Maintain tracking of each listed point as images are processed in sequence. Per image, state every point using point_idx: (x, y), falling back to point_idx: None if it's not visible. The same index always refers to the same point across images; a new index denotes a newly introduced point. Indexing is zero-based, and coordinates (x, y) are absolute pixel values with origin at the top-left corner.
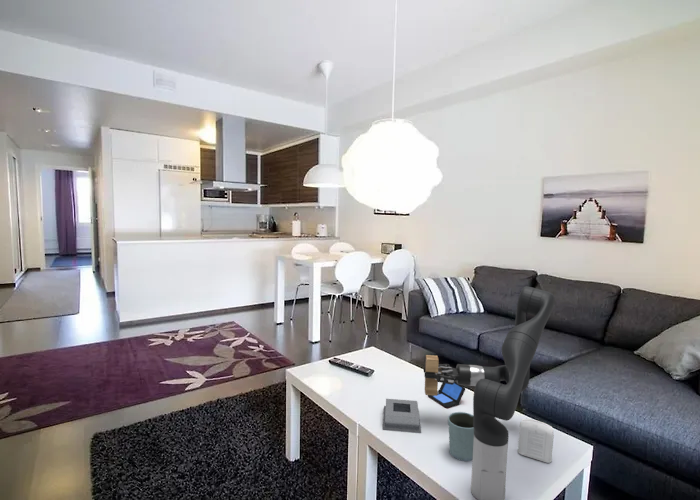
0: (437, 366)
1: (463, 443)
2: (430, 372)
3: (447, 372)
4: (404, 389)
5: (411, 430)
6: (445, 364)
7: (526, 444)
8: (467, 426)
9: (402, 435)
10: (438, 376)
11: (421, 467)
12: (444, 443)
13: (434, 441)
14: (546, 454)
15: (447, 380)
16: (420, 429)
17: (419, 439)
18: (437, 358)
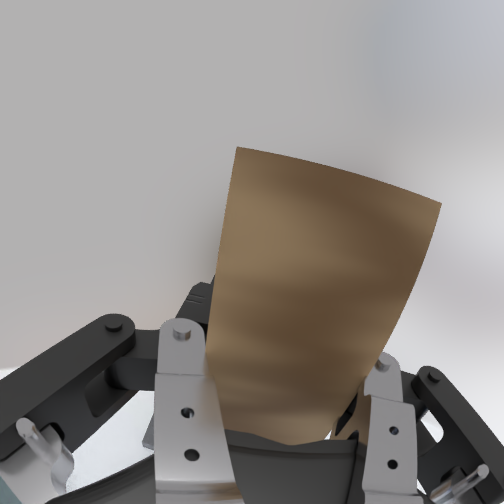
0: (218, 266)
1: None
2: (211, 296)
3: (153, 462)
4: (430, 429)
5: (152, 417)
6: (501, 457)
7: None
8: None
9: (141, 392)
10: (101, 323)
11: (12, 370)
12: (68, 484)
13: (86, 462)
14: None
15: (61, 437)
16: (148, 442)
17: (109, 426)
18: (313, 162)
